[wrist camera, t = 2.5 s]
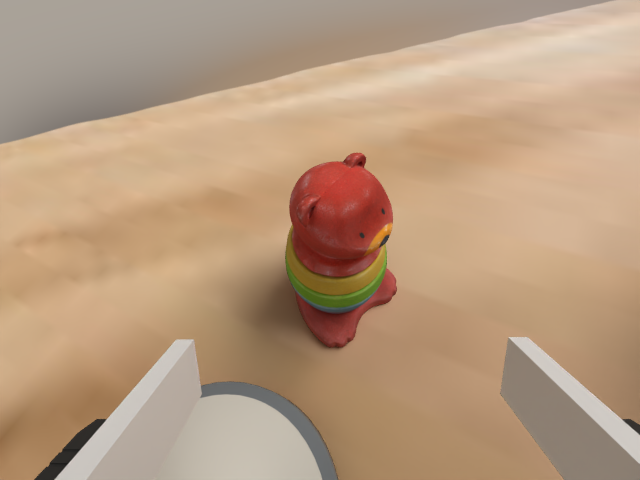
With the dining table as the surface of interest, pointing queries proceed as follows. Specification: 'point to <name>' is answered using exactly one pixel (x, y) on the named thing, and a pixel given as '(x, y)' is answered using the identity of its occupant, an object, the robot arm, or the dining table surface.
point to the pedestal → (247, 439)
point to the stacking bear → (339, 247)
